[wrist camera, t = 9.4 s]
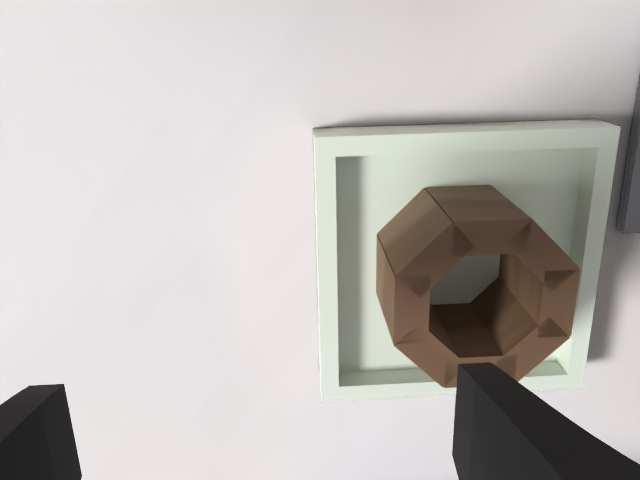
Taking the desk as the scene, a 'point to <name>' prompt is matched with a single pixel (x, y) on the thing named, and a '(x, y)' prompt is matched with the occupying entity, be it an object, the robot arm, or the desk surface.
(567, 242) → the tray
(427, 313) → the collar
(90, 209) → the desk surface
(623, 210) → the grey peg stand
